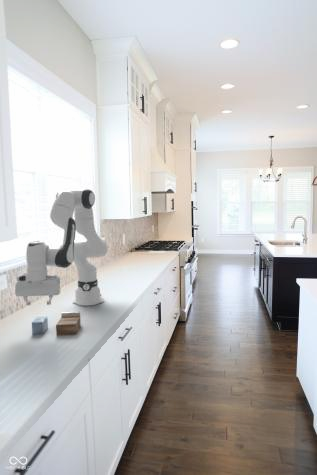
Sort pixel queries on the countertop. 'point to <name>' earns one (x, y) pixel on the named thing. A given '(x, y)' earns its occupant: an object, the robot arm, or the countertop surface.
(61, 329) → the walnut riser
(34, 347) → the countertop surface
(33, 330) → the block
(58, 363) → the countertop surface
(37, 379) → the countertop surface
